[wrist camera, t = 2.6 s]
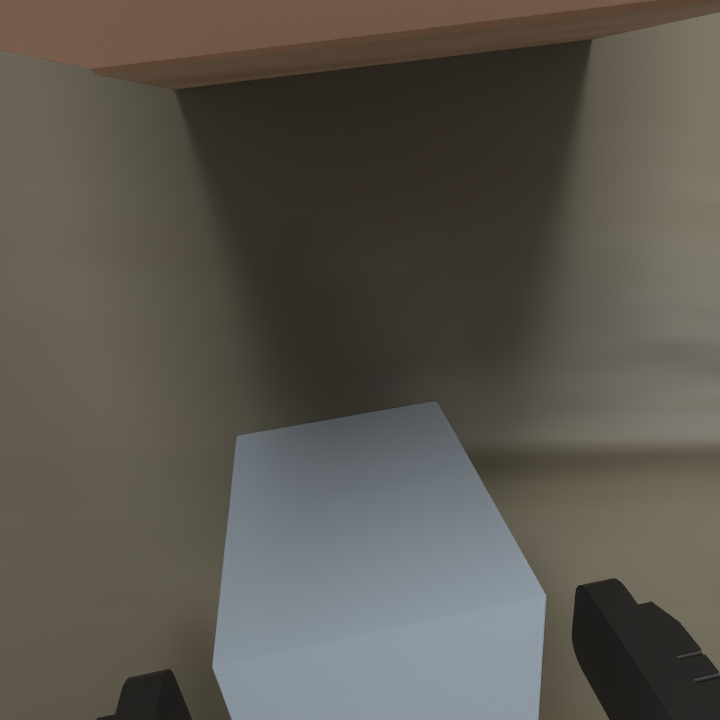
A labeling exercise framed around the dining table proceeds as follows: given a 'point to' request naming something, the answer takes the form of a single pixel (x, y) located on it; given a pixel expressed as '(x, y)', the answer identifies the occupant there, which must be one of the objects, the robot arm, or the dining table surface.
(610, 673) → the robot arm
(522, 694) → the slate block
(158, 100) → the dining table surface
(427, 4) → the tower top
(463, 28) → the tower base
